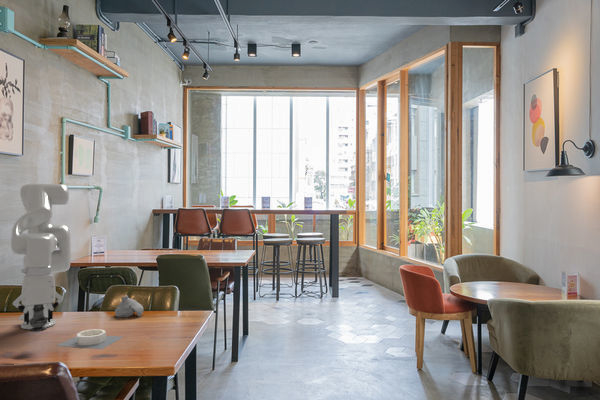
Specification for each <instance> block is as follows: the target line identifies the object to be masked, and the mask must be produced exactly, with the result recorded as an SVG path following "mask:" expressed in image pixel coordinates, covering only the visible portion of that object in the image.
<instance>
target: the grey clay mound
mask: <svg viewBox="0 0 600 400" xmlns="http://www.w3.org/2000/svg"><path fill="white" fill-rule="evenodd" d="M143 312H144V306H143V305H142V304H141V303H139V302H138V301H137V300H136V299H133V298H130V297H129V295H127V294H125V296H122V297H121V301H120V302H119V304H118V306H117V307H116V308H115V310H114V315H115V317H117V318H130V317H131V316H133V315H134V313H136V315H137V317H138V318H140V317H142V315H143Z"/></svg>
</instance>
